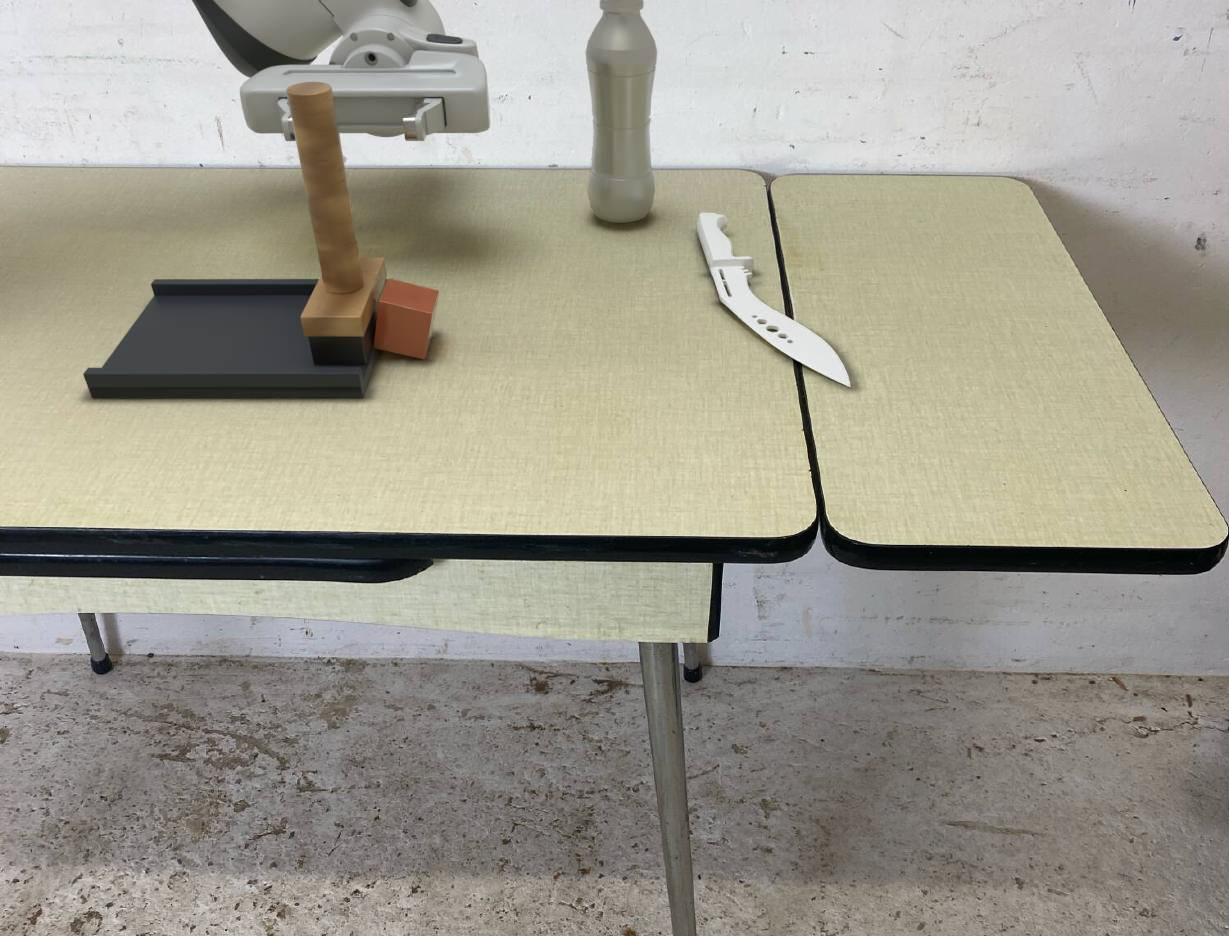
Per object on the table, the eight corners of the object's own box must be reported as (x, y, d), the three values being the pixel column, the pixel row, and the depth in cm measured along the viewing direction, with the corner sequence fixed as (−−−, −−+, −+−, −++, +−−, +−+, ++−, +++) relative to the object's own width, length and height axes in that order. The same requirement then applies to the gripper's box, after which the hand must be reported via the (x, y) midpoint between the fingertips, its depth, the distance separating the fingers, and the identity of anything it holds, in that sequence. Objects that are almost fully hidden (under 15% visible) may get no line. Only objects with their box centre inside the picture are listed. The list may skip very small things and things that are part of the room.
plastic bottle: (659, 206, 106) (665, -24, 93) (648, 233, 101) (653, -6, 88) (595, 202, 107) (591, -27, 94) (581, 229, 102) (576, -9, 89)
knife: (855, 377, 79) (751, 380, 79) (851, 396, 80) (749, 400, 80) (775, 208, 101) (693, 210, 100) (773, 226, 102) (692, 227, 101)
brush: (310, 366, 81) (256, 112, 69) (338, 304, 88) (294, 66, 76) (369, 366, 80) (325, 112, 69) (391, 304, 88) (356, 66, 76)
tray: (91, 398, 79) (82, 374, 78) (161, 301, 91) (154, 278, 90) (363, 398, 79) (358, 373, 78) (396, 301, 91) (393, 278, 90)
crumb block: (373, 348, 83) (378, 300, 80) (381, 324, 86) (387, 277, 83) (424, 360, 83) (432, 313, 81) (431, 335, 86) (439, 290, 84)
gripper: (255, 39, 92) (209, 87, 82) (494, 39, 92) (477, 87, 82) (271, 117, 96) (229, 172, 86) (499, 117, 96) (484, 171, 86)
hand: (352, 130), depth 84 cm, fingers open, 8 cm apart
